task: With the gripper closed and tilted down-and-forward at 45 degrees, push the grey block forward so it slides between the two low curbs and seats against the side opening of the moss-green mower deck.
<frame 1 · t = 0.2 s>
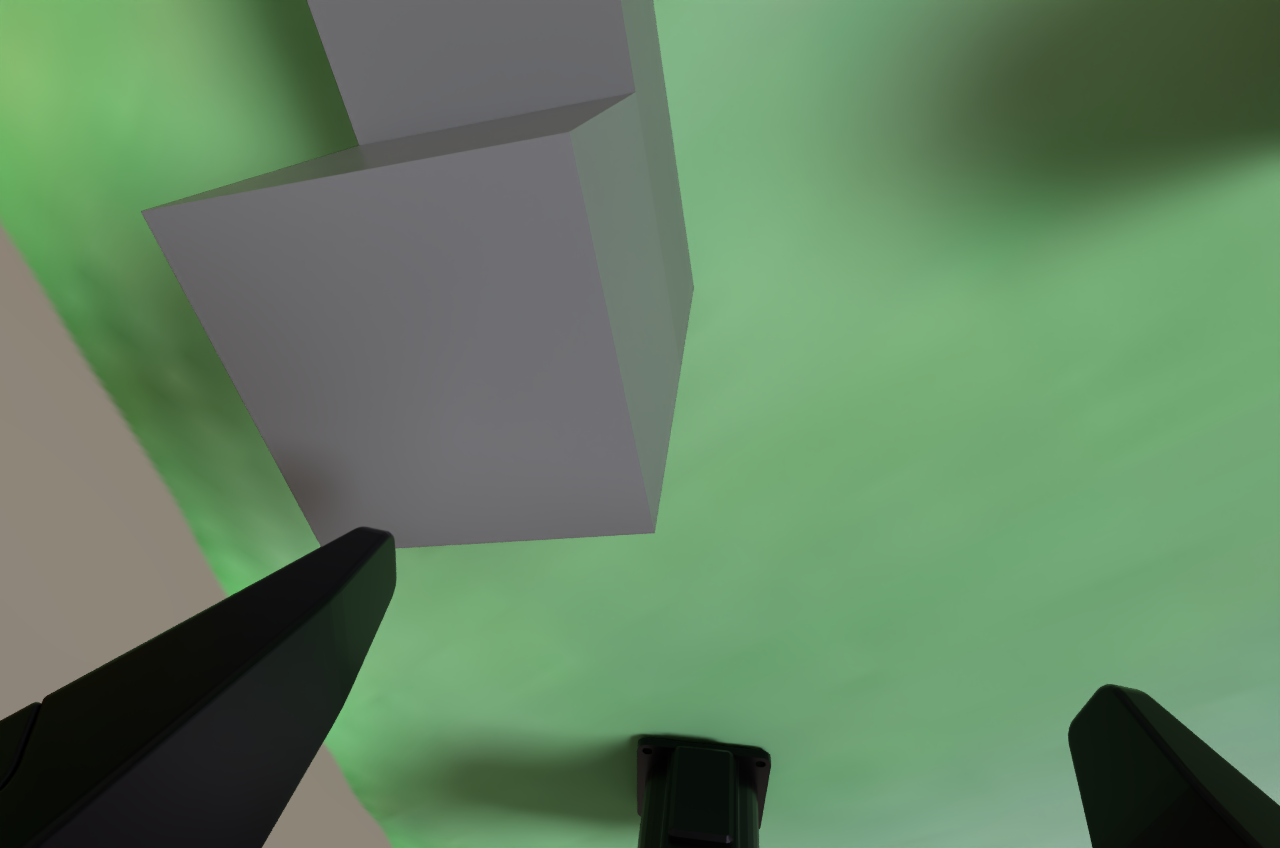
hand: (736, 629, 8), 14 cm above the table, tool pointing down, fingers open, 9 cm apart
grey block: (550, 55, 18), on the table
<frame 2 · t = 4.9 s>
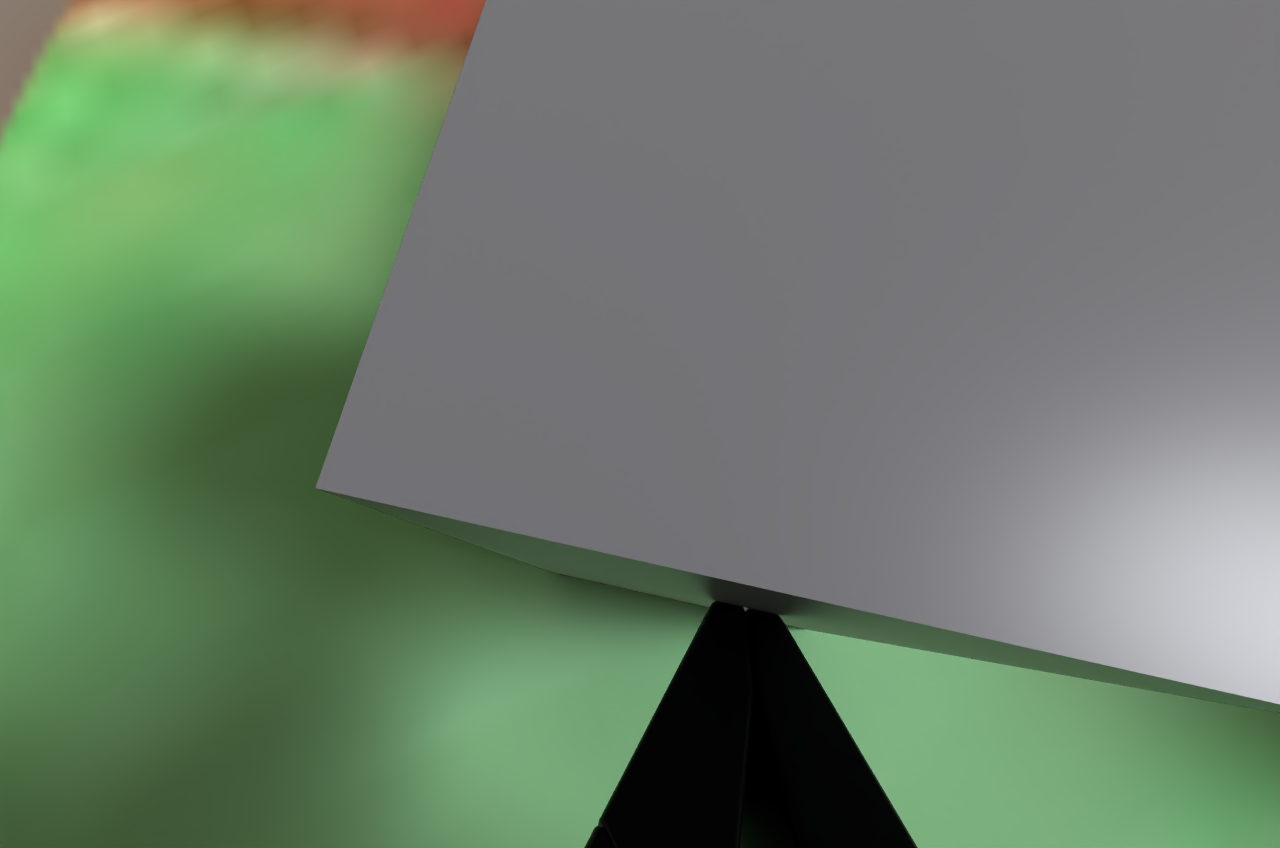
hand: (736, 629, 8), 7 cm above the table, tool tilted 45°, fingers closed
grey block: (732, 323, 17), on the table
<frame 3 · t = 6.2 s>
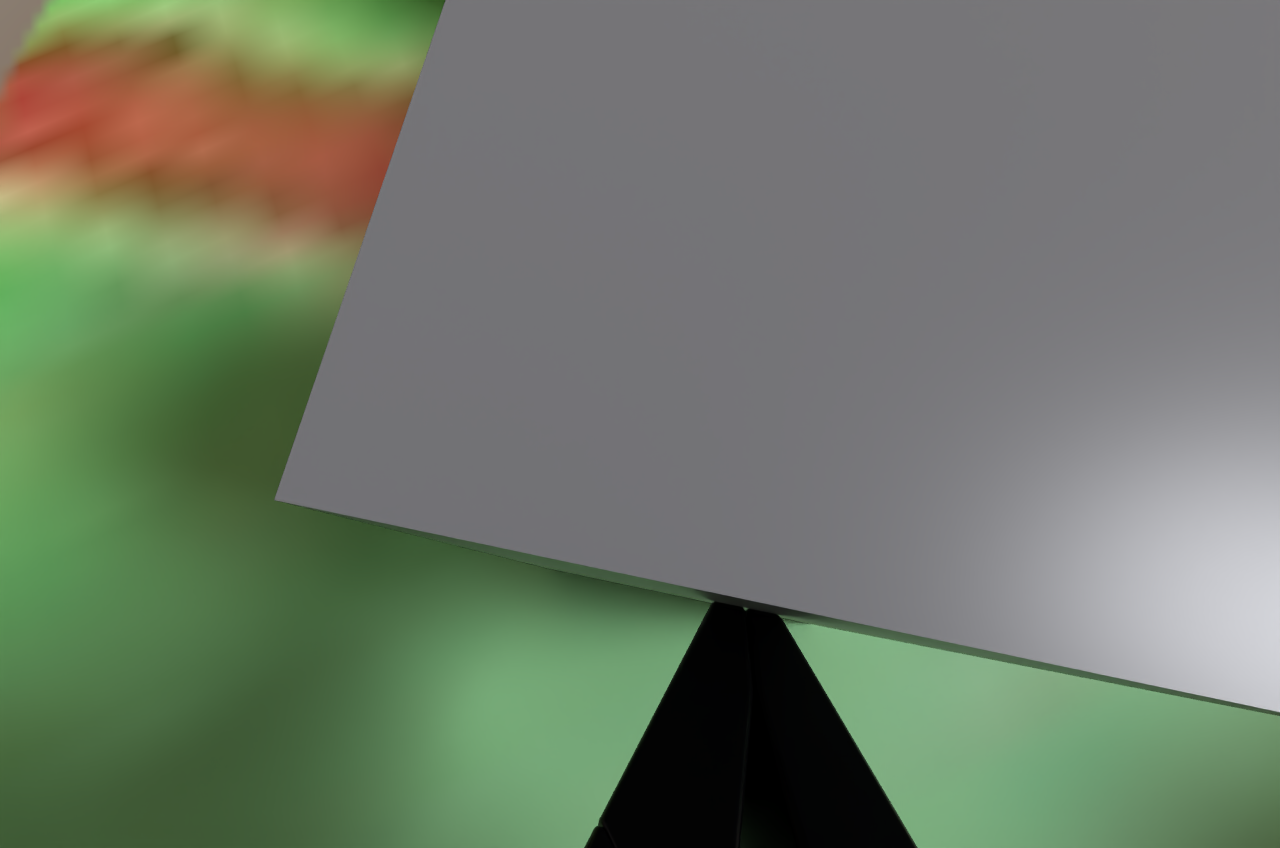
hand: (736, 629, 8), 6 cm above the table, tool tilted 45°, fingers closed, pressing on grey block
grey block: (731, 312, 16), on the table, touching gripper
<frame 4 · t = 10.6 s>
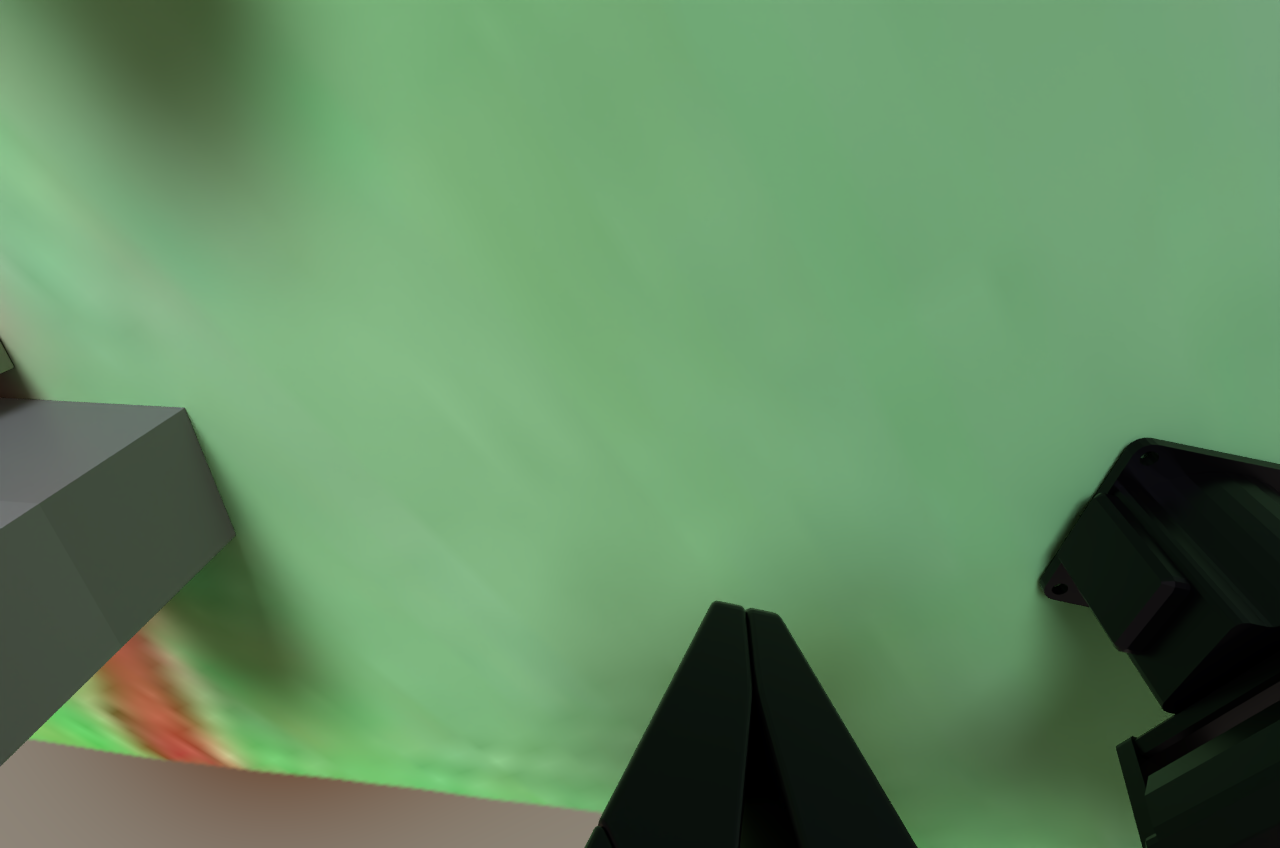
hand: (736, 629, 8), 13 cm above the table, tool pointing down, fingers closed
grey block: (54, 463, 27), on the table, touching mower deck
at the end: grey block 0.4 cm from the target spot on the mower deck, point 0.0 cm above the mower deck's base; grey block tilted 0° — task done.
